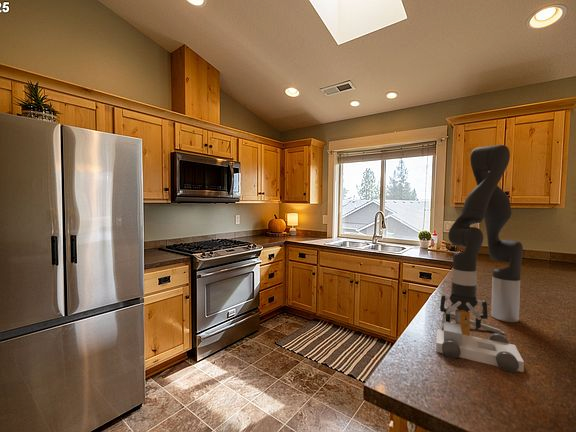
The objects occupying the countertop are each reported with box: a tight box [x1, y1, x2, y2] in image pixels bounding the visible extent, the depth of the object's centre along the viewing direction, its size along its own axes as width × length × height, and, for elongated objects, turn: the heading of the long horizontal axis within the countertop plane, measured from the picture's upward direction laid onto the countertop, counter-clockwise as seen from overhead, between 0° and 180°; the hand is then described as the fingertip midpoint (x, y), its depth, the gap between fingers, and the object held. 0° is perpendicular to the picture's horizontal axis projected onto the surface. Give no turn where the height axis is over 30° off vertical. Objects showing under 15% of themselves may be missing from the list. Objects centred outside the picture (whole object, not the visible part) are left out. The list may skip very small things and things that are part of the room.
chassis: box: [436, 320, 525, 373], centre depth 88 cm, size 15×22×7 cm
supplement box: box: [454, 308, 471, 336], centre depth 98 cm, size 3×3×10 cm
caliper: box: [441, 312, 506, 335], centre depth 106 cm, size 20×1×6 cm, turn 62°
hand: (462, 326), depth 98 cm, fingers open, 8 cm apart
